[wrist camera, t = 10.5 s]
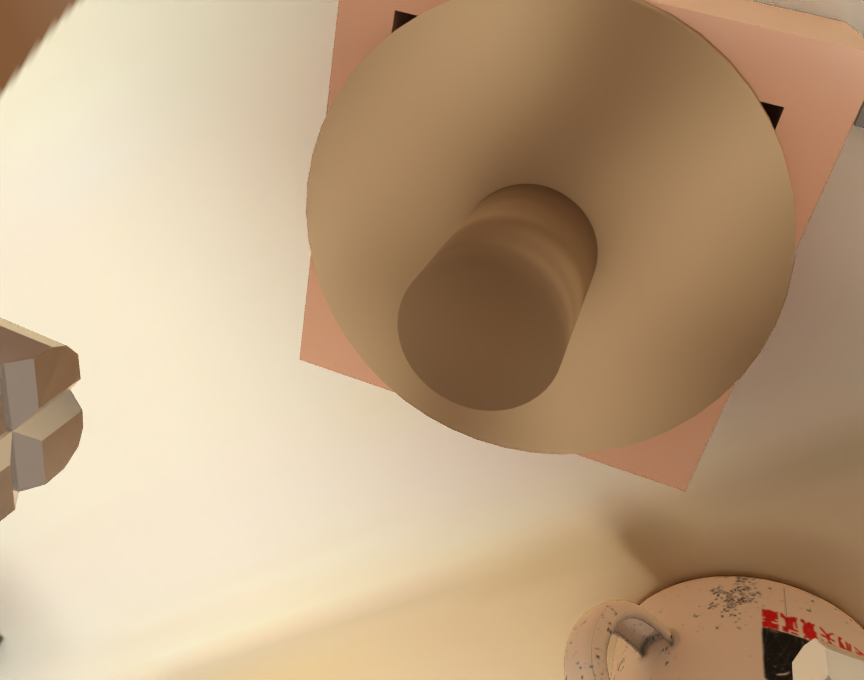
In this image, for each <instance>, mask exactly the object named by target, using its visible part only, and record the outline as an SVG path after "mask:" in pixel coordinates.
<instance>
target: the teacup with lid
mask: <svg viewBox="0 0 864 680" xmlns="http://www.w3.org/2000/svg"><path fill="white" fill-rule="evenodd" d="M612 633H613V634H615V635H617V636H618V639H617V642H616V647H615V653H614V660H613V667H612V674H611V680H793V672H792V662H793V660H794V659H795V658H796V656H797V655H798V653H799V652H800V650H801V649H802V648H803V646H804V645H805V644H807V643H808V642H810V641H811V640H813V639H814V638H816V639H819V640H822V641H824V642H827V643H830V644H832V645H835V646H837V647H840V648H843V649H845V650H848V651H850V652H853V653H856V654H858V655H861V656H864V629H863V628H862V627H861V626H860V625H859V624H858V623H857V622H855V621H854V620H853V619H852V618H851V617H849V616H848V615H847V614H846V613H844V612H843V611H841V610H840V609H838V608H837V607H835V606H834V605H832V604H830V603H828V602H827V601H825V600H823V599H821V598H819V597H817V596H815V595H813V594H811V593H808V592H806V591H803V590H801V589H798V588H796V587H792V586H789V585H786V584H783V583H779V582H775V581H770V580H765V579H759V578H752V577H741V576H718V577H707V578H700V579H695V580H690V581H686V582H683V583H679V584H676V585H673V586H671V587H668V588H666V589H664V590H662V591H660V592H658V593H656V594H654V595H653V596H651V597H650V598H648V599H646V600H645V601H644V602H643V603H642V604H640V605H637V604H635V603H632V602H629V601H624V600H615V601H610V602H606V603H604V604H601V605H599V606H597V607H595V608H593V609H591V610H589V611H588V612H587V613H585V614H584V615H583V616H582V617H581V618H580V619H579V620H578V621H577V623H576V624H575V626H574V627H573V629H572V631H571V633H570V636H569V639H568V642H567V646H566V650H565V658H564V675H565V680H610V678H609V674H608V668H607V649H608V644H609V640H610V637H611V635H612Z"/></svg>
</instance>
